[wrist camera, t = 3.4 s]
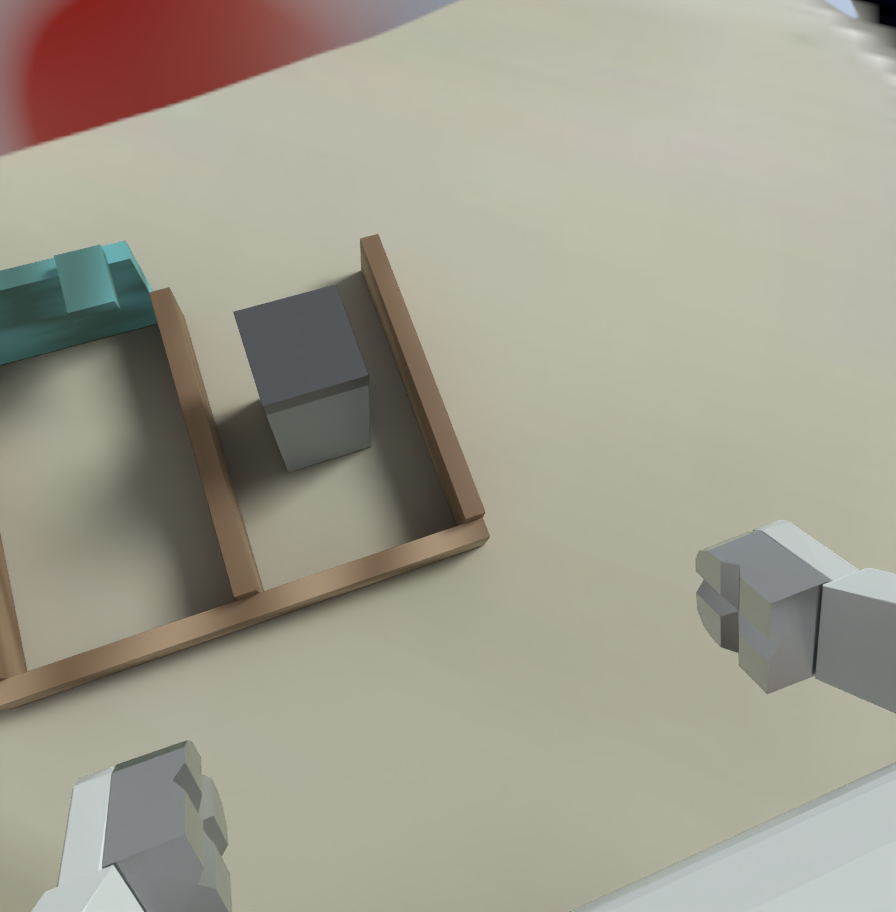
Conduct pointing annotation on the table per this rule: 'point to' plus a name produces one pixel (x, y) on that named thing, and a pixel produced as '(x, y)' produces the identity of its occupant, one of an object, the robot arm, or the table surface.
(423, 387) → the frame
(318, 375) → the tall grey block
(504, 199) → the table surface
